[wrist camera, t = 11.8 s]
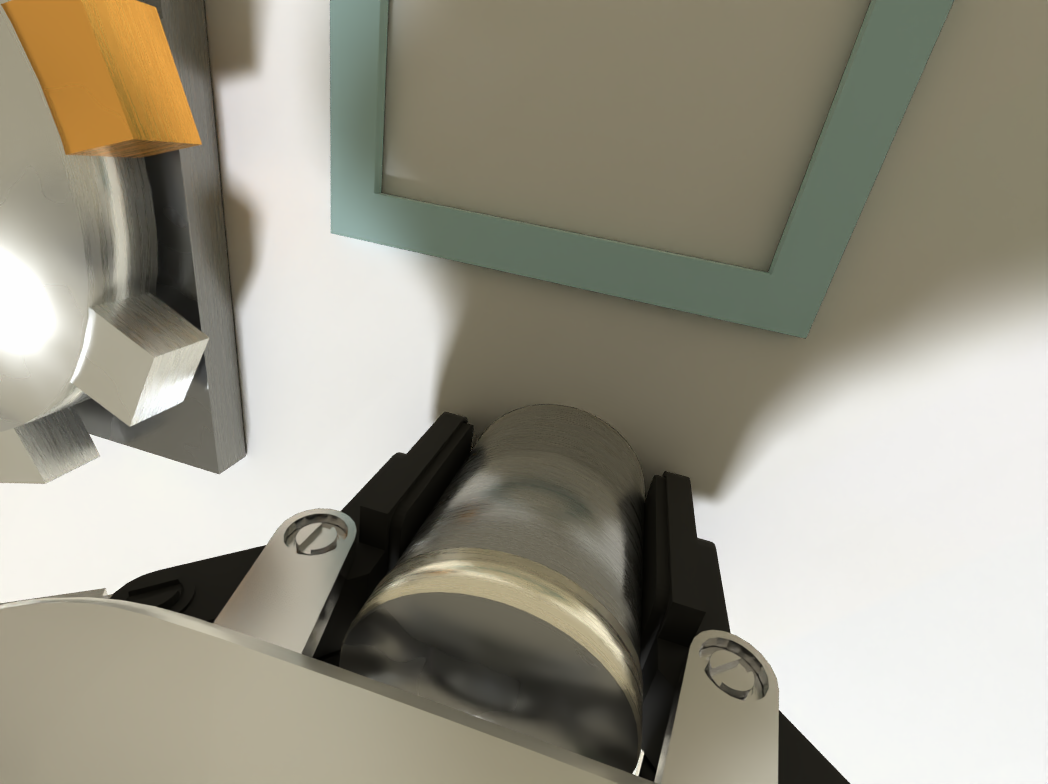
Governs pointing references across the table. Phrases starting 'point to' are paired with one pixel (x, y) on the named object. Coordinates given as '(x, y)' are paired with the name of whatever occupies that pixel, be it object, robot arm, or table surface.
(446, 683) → the silver metal cylinder
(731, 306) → the seat bay
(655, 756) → the robot arm
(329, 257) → the table surface
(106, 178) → the sprocket
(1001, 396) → the table surface
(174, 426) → the sprocket base
